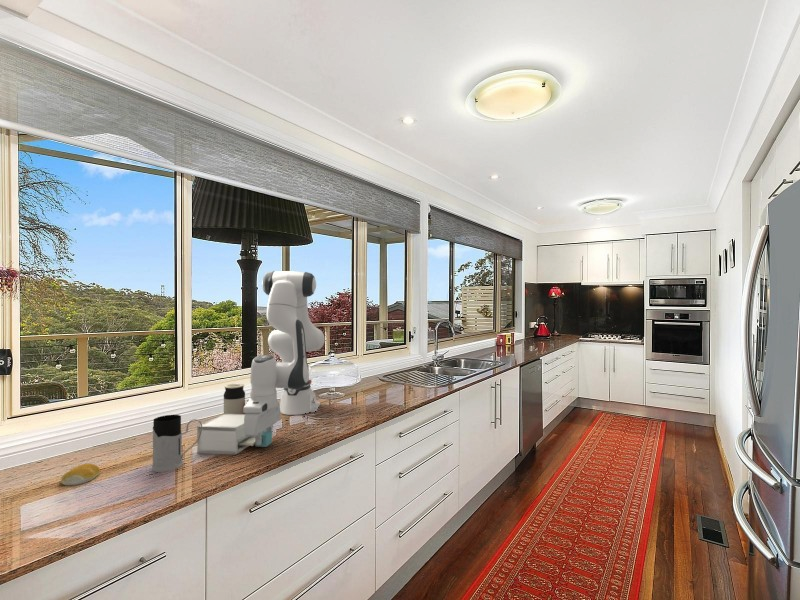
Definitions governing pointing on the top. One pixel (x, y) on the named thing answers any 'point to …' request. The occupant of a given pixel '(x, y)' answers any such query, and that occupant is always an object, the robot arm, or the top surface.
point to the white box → (222, 435)
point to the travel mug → (234, 399)
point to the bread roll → (80, 474)
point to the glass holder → (168, 442)
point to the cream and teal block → (252, 441)
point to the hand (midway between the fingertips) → (263, 441)
